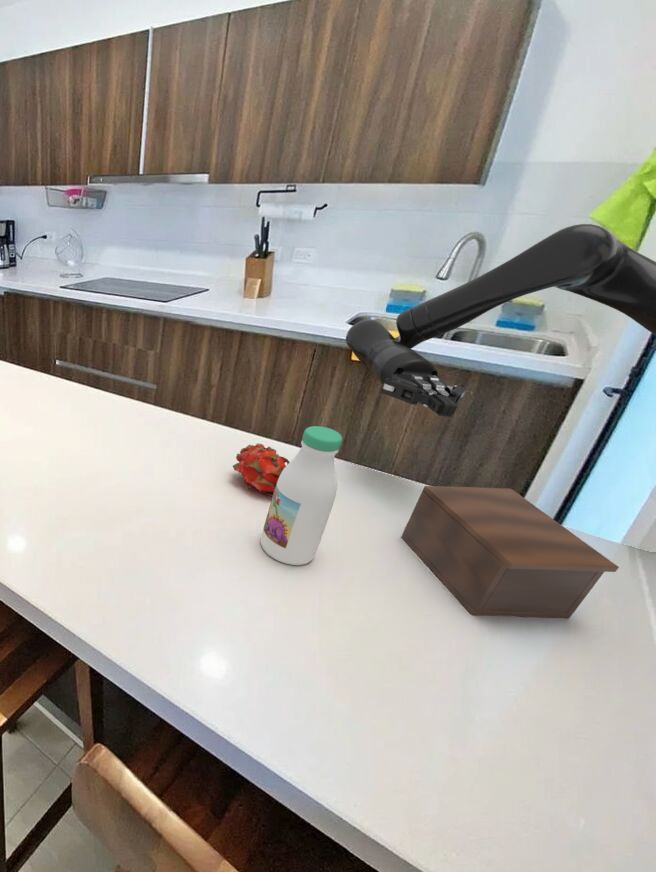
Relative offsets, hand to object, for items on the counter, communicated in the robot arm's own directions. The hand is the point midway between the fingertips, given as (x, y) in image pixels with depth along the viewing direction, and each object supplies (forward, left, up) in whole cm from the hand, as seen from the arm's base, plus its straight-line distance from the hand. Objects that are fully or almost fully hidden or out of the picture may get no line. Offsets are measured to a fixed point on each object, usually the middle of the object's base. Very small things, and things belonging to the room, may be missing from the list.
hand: (448, 411), depth 76 cm
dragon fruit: (+22, -6, -19) cm, 30 cm away
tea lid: (-2, +15, -10) cm, 18 cm away
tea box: (-2, +15, -19) cm, 24 cm away
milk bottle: (+24, +11, -19) cm, 33 cm away
